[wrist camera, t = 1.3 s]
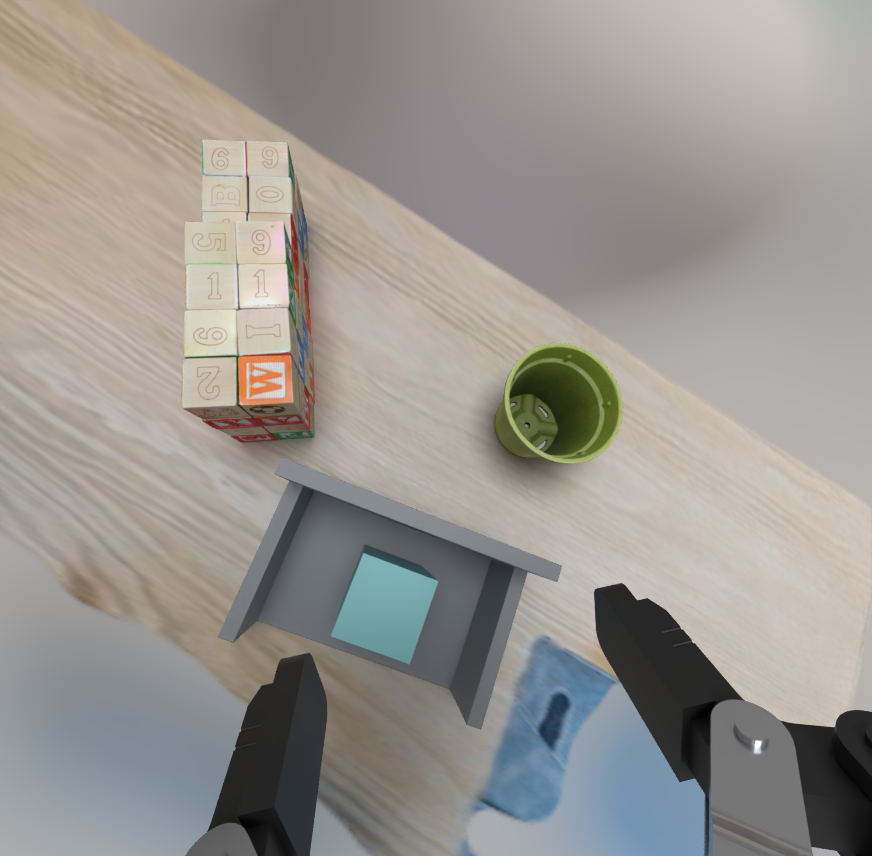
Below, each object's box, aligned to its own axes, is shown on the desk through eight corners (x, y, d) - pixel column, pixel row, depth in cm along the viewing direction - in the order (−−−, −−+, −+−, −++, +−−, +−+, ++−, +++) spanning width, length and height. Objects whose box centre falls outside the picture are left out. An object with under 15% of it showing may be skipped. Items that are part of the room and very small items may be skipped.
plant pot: (455, 417, 40) (479, 391, 31) (526, 359, 42) (566, 319, 33) (522, 495, 39) (564, 490, 31) (590, 432, 41) (646, 410, 33)
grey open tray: (459, 688, 35) (504, 773, 23) (248, 613, 34) (184, 663, 22) (502, 550, 38) (561, 565, 26) (309, 476, 36) (281, 457, 25)
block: (399, 626, 34) (409, 664, 25) (340, 605, 34) (330, 636, 25) (421, 565, 35) (438, 581, 27) (364, 544, 35) (363, 552, 26)
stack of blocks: (238, 221, 40) (184, 97, 28) (307, 222, 41) (283, 103, 29) (240, 444, 36) (178, 408, 24) (316, 439, 37) (292, 402, 25)
